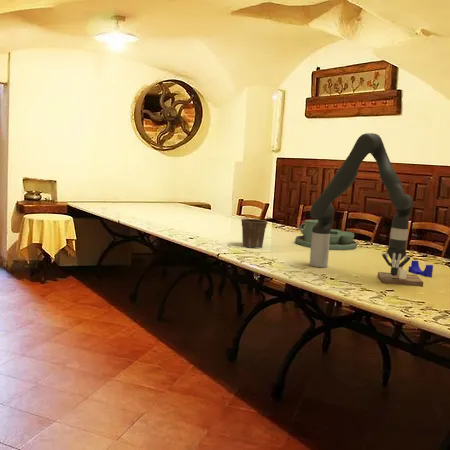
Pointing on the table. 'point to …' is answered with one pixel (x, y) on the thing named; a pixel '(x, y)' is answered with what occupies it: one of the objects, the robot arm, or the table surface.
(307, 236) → the green tea tray
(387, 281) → the switch board
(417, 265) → the cable clip
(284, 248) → the table surface
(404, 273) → the tab
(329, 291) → the table surface
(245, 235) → the plant pot
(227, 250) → the table surface
